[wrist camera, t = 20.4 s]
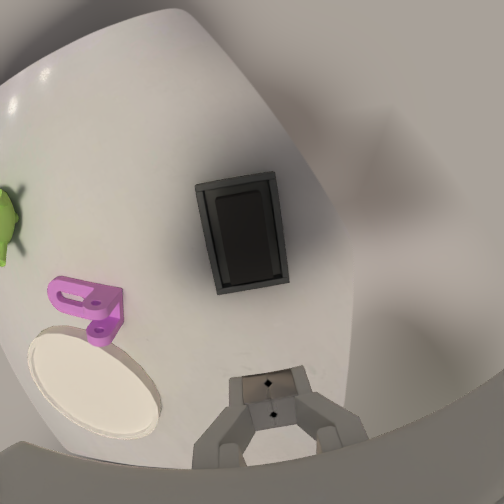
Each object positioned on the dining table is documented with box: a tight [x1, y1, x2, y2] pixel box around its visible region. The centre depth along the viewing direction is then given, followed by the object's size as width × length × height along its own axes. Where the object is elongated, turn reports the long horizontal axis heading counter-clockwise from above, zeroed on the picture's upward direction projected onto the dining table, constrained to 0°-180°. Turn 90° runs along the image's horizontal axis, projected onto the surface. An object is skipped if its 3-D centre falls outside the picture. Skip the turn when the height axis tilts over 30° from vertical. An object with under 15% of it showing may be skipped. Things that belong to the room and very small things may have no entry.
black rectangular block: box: [215, 190, 273, 285], centre depth 32 cm, size 10×5×3 cm, turn 9°
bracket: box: [47, 276, 124, 347], centre depth 32 cm, size 13×6×7 cm, turn 80°
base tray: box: [195, 171, 290, 295], centre depth 33 cm, size 14×9×2 cm
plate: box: [27, 326, 161, 440], centre depth 40 cm, size 28×28×2 cm
